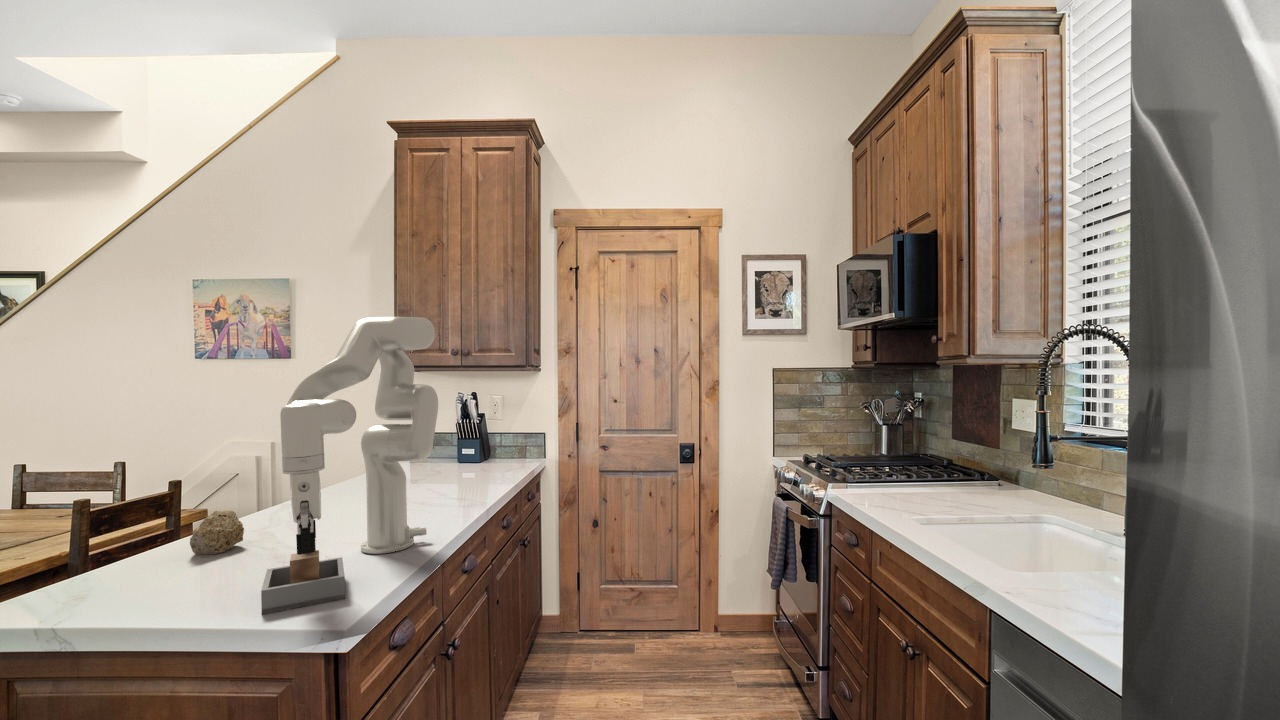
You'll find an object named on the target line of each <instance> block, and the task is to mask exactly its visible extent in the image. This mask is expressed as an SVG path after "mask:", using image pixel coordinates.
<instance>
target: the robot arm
mask: <svg viewBox="0 0 1280 720" xmlns="http://www.w3.org/2000/svg"><path fill="white" fill-rule="evenodd" d="M435 336H436V330H435V326H434V325H433V323H432V322H431V321H430V319H428V318H427V317H422V316H421V317H420V316H419V317H418V316H417V317H413V316H412V317H410V316H409V317H408V316H374V317H365V318H361V319H359V320H357V321H356V322H355V324H353V325H352V328H351V330H350V331H349V333H348V335H347V337H346V339H344V342H343V344H342V345H341V347H340V349H339V350H338V352H337V354H336V356H335V357H334V358H333V359H332V360H331V361H329V362H328V363H325V365H323V366H321V367H320V368H318V369H317V370H315V371H314V372H312V373H311V374H310V375H308V376H307V377H306V378H304V379H303V380H302V381H301V382H300V383H299V384H298V385H297V386H296V387H295V389H294V391H293V392H292V394H291V396H290V398H289V399H288V401H287V404H286V405H284V406H283V407H282V408H281V409H280V413H279V415H280V440H281V442H280V443H281V444H280V445H281V467H282V468H281V469H282V470H281V471H282V474H284V475H289V488H290V503H291V504H290V505H291V512H292V518H293V519H292V520H293V522H294V523H295V524H297V525H296V526H297V527H296V528H297V533H296V534H295V535H296V553H297V554H298V555H301V554H307V553H313V552H315V551H316V539H317V536H316V535H317V534H316V533H317V531H316V519H317V521H319V520H320V519H322V492H321V490H322V488H321V475H320V471H323V470H324V469H325V466H326V465H325V464H326V463H325V445H324V444H325V443H324V440H325V439H324V435H332V434H333V435H334V434H335V435H336V434H343V433H344V432H347V431H349V430H350V429H352V427H353V426H354V424H355V422H356V420H357V411H356V408H355V406H354V405H353V403H351V402H349V401H348V400H344V399H341V398H332V399H331V398H327V397H329V396H330V395H332V394H335V393H337V392H338V391H339V392H340V391H341V390H344V389H348V388H350V387H352V386H355V385H358V384H360V383H362V382H364V381H365V380H367V379H369V377H370V376H371V374H372V372H373V370H374V368H375V366H376V364H377V362H378V361H379V365H380V373H379V380H378V386H377V391H376V395H375V396H376V397H375V405H374V411H375V414H376V416H377V417H378V418H379V419H381V420H385V421H412V423H409V424H408V423H405V424H404V423H402V424H400V423H391V424H389V423H388V424H387V423H386V424H385V423H383V424H377V425H373V426H370V427H368V428H367V429H366V430H365V431H364V432H363V434H362V436H361V441H360V445H361V446H360V447H361V452H362V453H361V454H362V457H363V461H364V467H365V481H366V482H365V485H366V489H365V490H366V491H365V492H366V528H367V529H366V533H367V536H366V537H367V541H364V542H363V543H362V544H361V545H360V551H361V552H362V553H364V554H369V555H370V554H372V555H379V554H380V555H381V554H389V553H395V551H396V552H399V551H402V550H405V549H408V548H410V547H412V546H413V545H414V544H415V543H414V542H415V541H414V539H415V538H414V537H417V536H418V537H419V536H420V537H421V536H426V535H427V527H420V526H417V527H414V528H413V527H410V526H409V524H408V515H407V514H408V509H407V506H408V503H407V497H408V496H407V475H406V472H405V470H404V468H403V467H402V465H401V464H400V463H399V462H421V461H424V460H426V459H427V458H428V457H429V456H430V455H431V453H432V450H433V447H434V446H433V445H434V439H435V433H436V426H437V419H438V412H439V399H438V398H439V397H438V394H437V391H436V390H435V388H434V387H433V386H431V385H429V384H424V383H421V384H419V383H417V384H414V378H415V372H416V371H415V367H414V364H413V362H412V361H411V359H410V357H408V355H407V353H405V352H404V351H417V350H418V351H419V350H426V349H428V348H430V347H431V346H432V344H433V343H434V341H435V338H436V337H435ZM326 398H327V399H326Z"/></svg>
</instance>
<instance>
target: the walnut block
mask: <svg viewBox="0 0 1280 720" xmlns="http://www.w3.org/2000/svg"><path fill="white" fill-rule="evenodd" d="M289 558H290V559H289V566H290V584H294V583H300V582H306V581H312V580H317V579H319V561H320V549H318V550H316V551H315V552H313V553H307V554H301V555H298V554H297V552H296V553H291V555H290V557H289Z"/></svg>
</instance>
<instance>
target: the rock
mask: <svg viewBox="0 0 1280 720" xmlns="http://www.w3.org/2000/svg"><path fill="white" fill-rule="evenodd" d="M244 533H245V528H244V525H243V522H242V521H241V520H240V519H239V518H238V515H237V514H236V512H235V511H234V510H222V511H221V510H219V511H218V510H214V511H213V512H212V513H211V514H210V515H208V516H207V517H205V518H204V519H203V520H202V522H201V523H200V524H199V526H198V527H196V528H195V529H193V531H192V535H191V537H190V538H189V547H190V549H191V551H192V552H193V554H195V555H197V556H198V555H199V556H200V555H201V556H202V555H204V554H205V555H210V554H211V555H217V554H220V553H227V551H229V550H231V548H232V547H234V546H235V545H236V544H238V543H241V542H243V541H244Z"/></svg>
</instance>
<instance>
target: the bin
mask: <svg viewBox="0 0 1280 720" xmlns="http://www.w3.org/2000/svg"><path fill="white" fill-rule="evenodd" d="M343 561H344V560H343V557H341V556H340V557H335V558H328V559H321V560H319V579H317V580H312V581H306V582H300V583H294V584H290V565H286V566H285V565H284V566H279V567H273V568H266V571H265V572H266V573H265V576H264V579H263V582H262V587H261V591H260V592H261V593H260V594H261V595H260V596H261V597H260V598H261V600H260V601H261V615H262V616H263V615H268V614H267V613H269V614H274V613H278V611H279V612H283V611H282V610H284V611H288V610H287V609H290V610H295V609H300V608H305V607H309V606H310V605H311V606H316V605H321V604H325V603H326V604H327V603H330V602H337V601H341V600H345V599H346V582H345V581H346V577H345V568H344V562H343ZM304 606H305V607H304ZM294 608H295V609H294Z"/></svg>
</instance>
